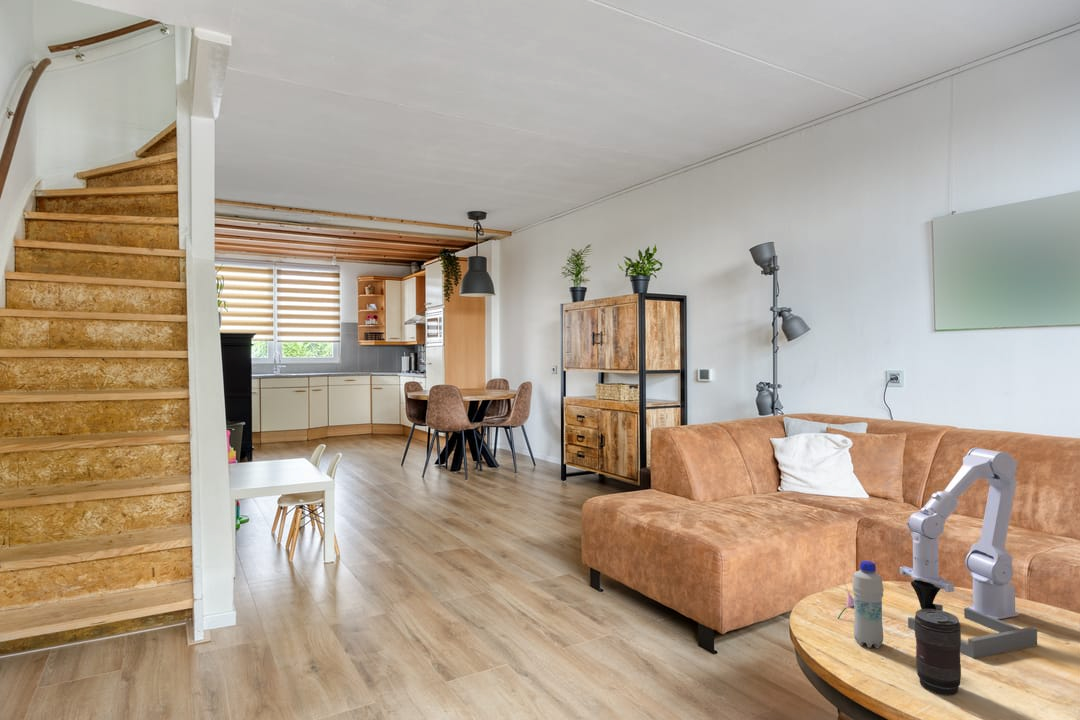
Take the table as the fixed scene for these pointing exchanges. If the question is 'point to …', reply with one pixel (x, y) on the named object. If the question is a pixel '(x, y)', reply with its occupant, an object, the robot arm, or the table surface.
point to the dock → (993, 636)
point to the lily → (848, 601)
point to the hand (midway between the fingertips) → (926, 609)
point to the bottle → (868, 605)
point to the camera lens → (938, 651)
